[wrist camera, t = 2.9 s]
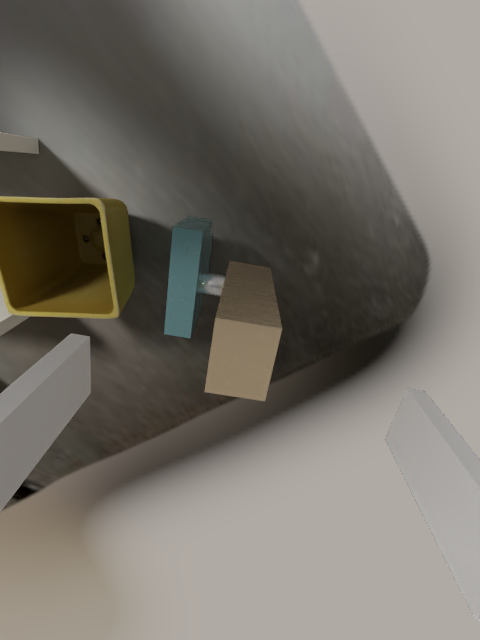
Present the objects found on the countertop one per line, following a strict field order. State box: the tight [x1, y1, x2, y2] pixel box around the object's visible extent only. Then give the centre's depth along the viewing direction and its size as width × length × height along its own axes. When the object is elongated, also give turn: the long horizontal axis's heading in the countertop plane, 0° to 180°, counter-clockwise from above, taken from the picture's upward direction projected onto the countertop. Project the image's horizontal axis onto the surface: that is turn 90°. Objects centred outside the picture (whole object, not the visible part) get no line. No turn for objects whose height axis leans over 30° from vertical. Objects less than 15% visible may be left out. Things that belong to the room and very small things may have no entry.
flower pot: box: [0, 196, 135, 319], centre depth 28 cm, size 9×9×9 cm
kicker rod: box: [164, 216, 282, 401], centre depth 24 cm, size 8×7×18 cm
